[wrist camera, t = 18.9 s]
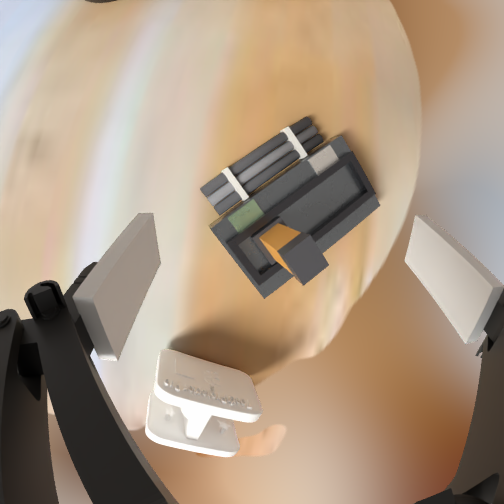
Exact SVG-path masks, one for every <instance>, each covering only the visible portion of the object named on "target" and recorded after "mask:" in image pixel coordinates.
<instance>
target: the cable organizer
mask: <svg viewBox="0 0 504 504" xmlns="http://www.w3.org/2000/svg"><path fill="white" fill-rule="evenodd" d="M262 412H263V408H262V406H261V403H260V400H259V398H258V395H257V392H256V390H255V387H254V384H253V382H252V379H251V377H250V376H249V375H247V374H246V373H244V372H242V371H240V370H237V369H233V368H230V367H226V366H223V365H219V364H216V363H212V362H209V361H206V360H203V359H199V358H196V357H193V356H190V355H187V354H184V353H181V352H178V351H175V350H171V349H163V350H161V351H160V354H159V357H158V359H157V367H156V375H155V385H154V390H153V391H152V392H151V393H150V396H149V399H148V408H147V418H146V428H145V432H146V435H147V436H148V437H149V438H150V439H151V440H153V441H154V442H157V443H159V444H163V445H167V446H171V447H176V448H180V449H184V450H189V451H194V452H199V453H204V454H210V455H216V456H222V457H231V456H234V455H235V454H236V453H237V451H238V450H239V448H240V445H239V441H238V437H237V434H236V430H235V426H234V422H233V420H237V421H243V422H255V421H257V420H258V418H259V417H260V415H261V414H262Z"/></svg>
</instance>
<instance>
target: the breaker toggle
mask: <svg viewBox="0 0 504 504" xmlns="http://www.w3.org/2000/svg"><path fill="white" fill-rule="evenodd" d="M250 237H251V238H252V240H253V241H254V242H255V244H256V245H257V247H258V248H259V249H260V251H261V252H262V253H263V255H264V256H265V258H266V259H267V260H268V262H269V263H270V264H271V265H273V264H275V263H276V262H278V263H279V264H281V265H282V266H283V267H284V268H285V269H287V270H288V271H289V272H290V273H291V274H293V275H294V277H295V278H296V279H297V280H298V281H299V282H300V283H301V284H303V285H305V284H306V283H307V282H309V281H310V280H311V279H312V278H314V277H315V276H316V275H317V274H319V273H320V272H321V271H322V270H324V269H325V268H326V267H327V266H329V264H328V262H327V261H326V259H325V257H324V256H323V254H322V253H321V251H320V249H319V248H318V246H317V245H316V243H315V241H314V240H313V238H312V237H311V235H310V234H307V233H305V232H299V231H296V230H294V229H291V228H289V227H287V226H286V224H285V223H284V221H283V220H282V218H281V217H280V216H277V217H276V218H274V219H273V220H272V221H270V222H269V223H268V224H266V225H265V226H264V227H262V228H261V229H260V230H258V231H257V232H256V233H254V234H253V235H252V236H250Z"/></svg>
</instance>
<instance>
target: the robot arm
mask: <svg viewBox="0 0 504 504" xmlns="http://www.w3.org/2000/svg"><path fill="white" fill-rule="evenodd" d="M86 1H89V2H95V3H103V2H111V1H115V0H86ZM405 262H406V263H407V265H408V266H409V267H410V268H411V270H412V271H413V272H414V273H415V275H416V276H417V277H418V279H419V280H420V281H421V282H422V284H423V285H424V286H425V288H426V289H427V290H428V292H429V293H430V294H431V295H432V297H433V298H434V300H435V301H436V302H437V304H438V305H439V307H440V308H441V309H442V311H443V312H444V314H445V315H446V316H447V318H448V319H449V321H450V322H451V324H452V325H453V326H454V328H455V329H456V331H457V332H458V334H459V335H460V337H461V338H462V340H463V341H464V343H465V344H467V343H471V342H476V341H478V339H479V337H480V335H481V333H482V331H483V330H484V331H485V332H486V333H487V336H486V338H485V340H484V341H483V343H482V345H481V346H480V348H479V350H478V351H477V354H476V356H478V355H479V353H481V352H483V353H482V356H481V358H482V363H481V372H480V378H479V385H478V391H477V397H476V402H475V407H474V412H473V417H472V422H471V425H470V430H469V433H468V437H467V441H466V445H465V448H464V451H463V455H462V458H461V461H460V464H459V467H458V470H457V473H456V475H455V477H454V479H453V480H452V482H451V483H450V484H449V485H448V486H447V488H446V489H445V490H444V491H443V492H441V493H438V494H436V495H433V496H431V497H428V498H426V499H423V500H421V501H418V502H416V503H414V504H504V285H503V284H502V283H501V282H500V281H499V280H498V279H497V278H496V277H495V276H494V275H493V274H492V273H491V272H490V271H489V270H488V269H487V268H486V267H485V266H484V265H483V264H482V263H481V262H480V261H478V259H477V258H475V257H474V256H473V255H472V254H471V253H470V252H469V251H468V250H467V249H466V248H465V247H463V246H462V245H461V244H460V243H458V241H457V240H455V239H454V238H453V237H452V236H451V235H450V234H448V233H447V232H446V231H445V230H444V229H443V228H441V227H440V226H439V225H438V224H437V223H435V222H434V221H433V220H432V219H430V218H429V217H428V216H424V215H423V216H422V215H415V220H414V225H413V229H412V234H411V238H410V242H409V246H408V250H407V254H406V258H405ZM160 264H161V261H160V255H159V249H158V243H157V236H156V230H155V223H154V215H153V213H138V215H137V216H136V217H135V218H134V219H133V220H132V221H131V223H130V224H129V225H128V226H127V227H126V228H125V230H124V231H123V232H122V233H121V234H120V236H119V237H118V238H117V239H116V240H115V242H114V243H113V244H112V245H111V246H110V248H109V249H108V250H107V251H106V253H105V254H104V255H103V256H102V258H101V259H100V260H99V262H93V263H92V264H90V265H89V266H87V267H86V268H84V270H83V271H82V272H81V273H80V275H79V276H78V278H76V280H75V281H74V284H72V285H71V286H70V288H69V289H68V290H67V292H66V293H65V294H64V296H63V294H62V292H61V289H60V286H59V284H58V283H57V282H55V281H53V280H49V281H43V282H40V283H38V284H36V285H34V286H33V287H31V288H30V289H29V290H28V291H27V293H26V294H25V297H24V300H25V303H26V305H27V307H28V309H29V311H30V313H31V315H32V317H33V319H26V320H20V318H19V316H18V313H17V312H16V311H15V310H13V309H7V310H4V311H1V312H0V504H59V502H58V497H57V493H56V487H55V481H54V476H53V469H52V462H51V452H50V443H49V431H48V410H47V388H48V392H49V396H50V399H51V403H52V406H53V409H54V413H55V416H56V419H57V421H58V425H59V428H60V430H61V433H62V436H63V438H64V441H65V444H66V446H67V449H68V452H69V454H70V456H71V459H72V461H73V463H74V466H75V468H76V470H77V472H78V475H79V476H80V479H81V481H82V483H83V485H84V487H85V489H86V491H87V493H88V495H89V497H90V499H91V501H92V502H93V504H179V503H178V502H177V501H176V499H175V498H174V497H173V496H172V494H171V493H170V492H169V491H168V489H167V488H166V487H165V485H164V484H163V483H162V481H161V480H160V478H159V477H158V476H157V474H156V473H155V471H154V470H153V469H152V467H151V466H150V464H149V463H148V461H147V460H146V458H145V457H144V455H143V454H142V452H141V451H140V449H139V447H138V446H137V444H136V443H135V441H134V439H133V438H132V436H131V434H130V433H129V431H128V429H127V428H126V426H125V424H124V422H123V421H122V419H121V417H120V415H119V414H118V412H117V410H116V408H115V406H114V404H113V402H112V400H111V398H110V397H109V395H108V393H107V391H106V389H105V386H104V384H103V382H102V380H101V378H100V376H99V374H98V372H97V370H96V367H95V365H94V363H93V361H92V359H91V357H90V354H91V352H92V350H93V348H94V349H95V351H96V353H97V355H98V357H99V359H105V360H112V361H118V360H119V357H120V355H121V352H122V350H123V347H124V345H125V342H126V340H127V338H128V335H129V333H130V330H131V328H132V326H133V323H134V321H135V319H136V316H137V314H138V312H139V309H140V307H141V305H142V303H143V300H144V298H145V296H146V294H147V292H148V289H149V287H150V285H151V283H152V281H153V279H154V276H155V274H156V272H157V270H158V268H159V266H160Z"/></svg>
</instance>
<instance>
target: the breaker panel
mask: <svg viewBox="0 0 504 504" xmlns="http://www.w3.org/2000/svg"><path fill="white" fill-rule="evenodd" d="M307 155H308V156H306V157H305V158H303V159H300V160H298V161H297V162H295V163H294V164H293V165H291V166H290V167H288V168H287V169H285V170H284V171H283V172H281V173H280V174H278V175H277V176H276V177H274V178H273V179H271V180H270V181H269V182H267V183H266V184H264V185H263V186H262V187H260V188H259V189H258V190H256V191H255V192H253V193H252V194H251V195H249V198H247V199H246V200H245V201H243V200H242V201H241V202H240V203H238V204H237V205H236V206H234V207H233V208H232V209H230V210H229V211H228V212H226V213H225V214H224V215H222V216H221V217H220V218H218V219H217V220H216V221H214V222H213V223H212V224H210V225H209V227H210V229H211V230H212V232H213V233H214V234H215V236H216V237H217V238H218V240H219V241H220V242H221V243H222V245H223V246H224V247H225V249H226V250H227V251H228V253H229V254H230V255H231V256H232V258H233V259H234V260H235V262H236V263H237V264H238V266H239V267H240V268H241V269H242V271H243V272H244V273H245V275H246V276H247V277H248V278H249V280H250V281H251V282H252V284H253V285H254V286H255V287H256V289H257V290H258V291H259V293H260V294H261V295H262V296H263V298H264V299H265V298H266V297H267V296H269V295H270V294H271V293H273V292H274V291H275V290H277V289H278V288H279V287H280V286H282V285H283V284H284V283H286V282H287V281H288V280H289V279H291V278H292V277H293V276H294V275H293V274H291V273H290V272H289V271H288V270H287V269H285V268H284V267H283V266H282V265H281V264H279V263H278V262H276V263H275V264H273V265H271V264H270V263H269V262H268V260H267V259H266V258H265V256H264V255H263V253H262V252H261V251H260V249H259V248H258V247H257V245H256V244H255V242H254V241H253V240H252V238H251V237H250V236H252V235H253V234H254V233H256V232H257V231H258V230H260V229H261V228H262V227H264V226H265V225H266V224H268V223H269V222H270V221H272V220H273V219H274V218H276V217H277V216H280V217H281V218H282V220H283V221H284V223H285V224H286V226H287V227H289V228H291V229H294V230H296V231H299V232H305V233H307V234H310V235H311V237H312V238H313V240H314V241H315V243H316V245H317V246H318V248H319V249H320V251H321V253H324V252H325V251H326V250H327V249H329V248H330V247H331V246H332V245H333V244H335V243H336V242H337V241H338V240H340V239H341V238H342V237H343V236H344V235H346V234H347V233H348V232H349V231H350V230H352V229H353V228H354V227H355V226H357V225H358V224H359V223H360V222H361V221H362V220H364V219H365V218H366V217H367V216H368V215H370V214H371V213H372V212H373V211H374V210H376V209H377V208H378V207H379V206H380V204H379V202H378V200H377V198H376V196H375V194H376V193H375V191H374V190H373V188H372V186H371V184H370V182H369V180H368V178H367V176H366V175H365V173H364V171H363V169H362V167H361V165H360V164H359V162H358V160H357V158H356V157H355V155H354V153H353V152H352V151H351V150H350V149H349V147H348V145H347V144H346V142H345V140H344V139H343V137H342V136H341V135H340V136H336V137H333V138H331V139H329V140H328V141H326V142H325V143H323V144H322V145H320V146H319V147H317V148H316V149H314V150H313V151H311V152H310V153H309V154H307Z"/></svg>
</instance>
